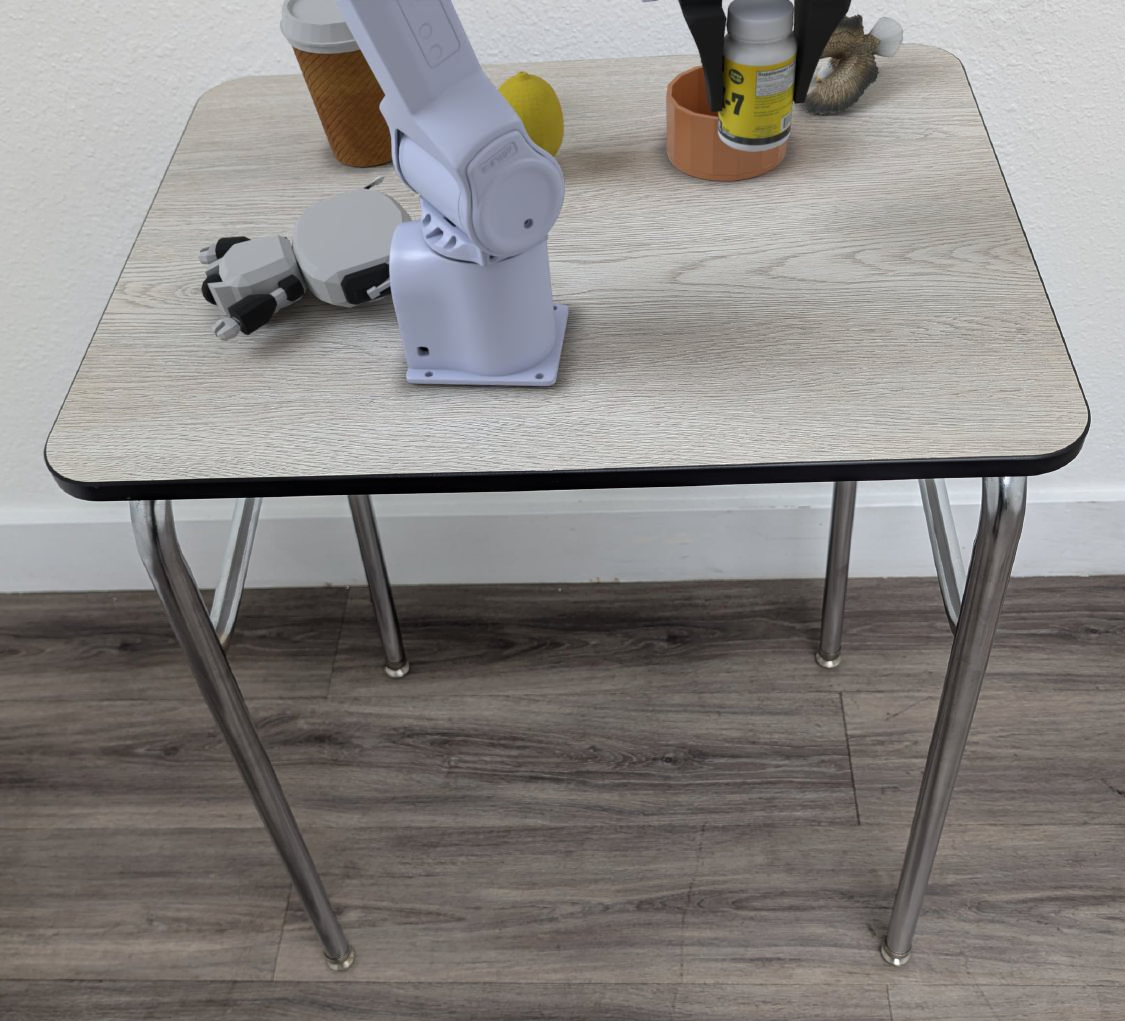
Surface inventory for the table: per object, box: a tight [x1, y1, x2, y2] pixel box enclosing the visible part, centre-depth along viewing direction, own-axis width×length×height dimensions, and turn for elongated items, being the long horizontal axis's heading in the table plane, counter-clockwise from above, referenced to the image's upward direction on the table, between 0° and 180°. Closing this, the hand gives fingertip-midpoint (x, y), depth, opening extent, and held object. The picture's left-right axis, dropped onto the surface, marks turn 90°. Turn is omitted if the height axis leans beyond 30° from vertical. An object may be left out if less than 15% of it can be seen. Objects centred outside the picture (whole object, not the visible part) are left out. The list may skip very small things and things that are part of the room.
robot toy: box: [197, 175, 412, 342], centre depth 76 cm, size 12×4×15 cm
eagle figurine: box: [791, 13, 904, 115], centre depth 90 cm, size 8×7×9 cm
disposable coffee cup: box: [279, 0, 393, 168], centre depth 87 cm, size 10×10×12 cm
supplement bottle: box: [718, 0, 797, 152], centre depth 70 cm, size 5×5×8 cm
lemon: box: [497, 70, 565, 158], centre depth 84 cm, size 6×6×8 cm
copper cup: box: [665, 64, 788, 182], centre depth 85 cm, size 9×9×5 cm
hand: (754, 100), depth 71 cm, fingers closed on supplement bottle, 5 cm apart
